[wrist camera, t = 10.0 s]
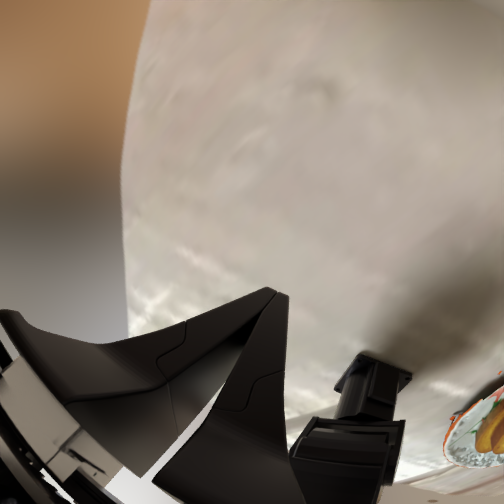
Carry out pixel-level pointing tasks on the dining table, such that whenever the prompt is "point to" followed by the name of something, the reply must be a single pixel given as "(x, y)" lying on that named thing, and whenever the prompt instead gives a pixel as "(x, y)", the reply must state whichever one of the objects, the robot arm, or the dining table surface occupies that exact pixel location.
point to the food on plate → (478, 434)
